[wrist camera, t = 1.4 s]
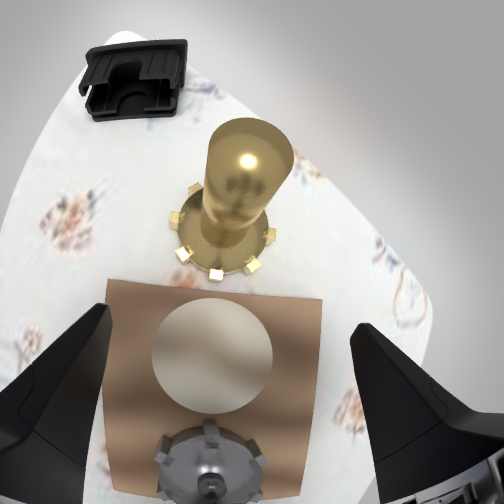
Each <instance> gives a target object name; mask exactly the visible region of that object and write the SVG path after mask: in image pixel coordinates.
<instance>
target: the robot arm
mask: <svg viewBox="0 0 504 504" xmlns="http://www.w3.org/2000/svg"><path fill="white" fill-rule="evenodd" d="M112 327H113V320H112V316H111V311H110V307H109V305H108V304H104V303H97V304H95V305H94V306H93V307H92V308H91V309H90V310H88V311H87V312H86V313H85V314H84V315H83V316H82V317H80V318H79V319H78V320H77V321H76V322H75V323H74V324H73V325H72V326H70V327H69V328H68V329H67V330H66V331H65V332H64V333H63V334H62V335H61V336H60V337H58V338H57V339H56V340H55V341H54V342H53V343H52V344H51V345H50V346H49V347H48V348H47V349H46V350H45V351H44V352H43V353H42V354H41V355H40V356H38V357H37V358H36V359H35V360H34V361H33V362H32V364H30V365H29V366H28V367H27V368H26V369H25V370H24V371H23V372H22V373H21V374H20V375H19V376H18V377H17V378H16V379H15V380H14V381H13V382H11V383H10V384H9V385H8V386H7V387H6V388H4V389H3V390H2V391H1V392H0V504H83V490H84V480H85V471H86V468H85V467H86V462H87V455H88V448H89V442H90V436H91V431H92V425H93V420H94V415H95V410H96V406H97V401H98V397H99V392H100V388H101V384H102V380H103V376H104V372H105V368H106V363H107V357H108V350H109V344H110V338H111V333H112ZM350 346H351V352H352V359H353V365H354V372H355V377H356V382H357V386H358V390H359V394H360V398H361V402H362V407H363V411H364V416H365V420H366V425H367V430H368V435H369V439H370V445H371V450H372V455H373V461H374V467H375V473H376V479H377V485H378V492H379V499H380V504H385V503H389V502H392V501H395V500H398V499H401V498H404V497H407V496H410V495H413V494H414V496H415V497H414V498H412V499H411V500H408V501H406V502H404V503H402V504H504V414H501V413H481V412H477V411H474V410H472V409H470V408H469V407H467V406H466V405H465V404H464V403H462V402H461V401H460V400H458V399H457V398H456V397H454V396H453V395H452V394H451V393H449V392H448V391H447V390H446V389H444V388H443V387H442V386H441V385H440V384H438V383H437V382H436V381H435V380H434V379H433V378H432V377H430V375H428V374H427V373H426V372H425V371H424V370H423V369H422V368H421V367H419V366H418V365H417V364H416V363H415V362H414V361H413V360H411V359H410V358H409V357H408V356H407V355H406V354H405V353H404V352H402V351H401V350H400V349H399V348H398V347H397V346H396V345H394V344H393V343H392V342H391V341H390V340H389V339H387V338H386V337H385V336H384V335H383V334H382V333H381V332H379V331H378V330H377V329H376V328H375V327H374V326H372V325H371V324H370V323H360V324H358V326H357V327H356V329H355V331H354V332H353V334H352V335H351V338H350Z"/></svg>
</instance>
